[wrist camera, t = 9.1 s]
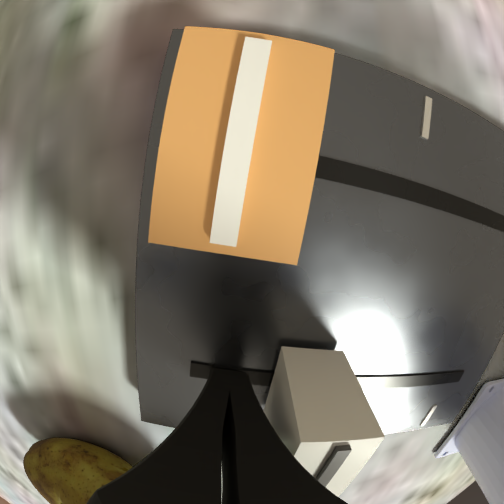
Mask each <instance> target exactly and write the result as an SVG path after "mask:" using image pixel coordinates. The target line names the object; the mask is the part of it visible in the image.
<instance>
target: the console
mask: <svg viewBox="0 0 504 504" xmlns="http://www.w3.org/2000/svg"><path fill="white" fill-rule="evenodd" d="M183 32H184V29H173V31H172V35H171V39H170V42H169V46H168V50H167V54H166V57H165V61H164V66H163V70H162V74H161V78H160V83H159V87H158V92H157V97H156V102H155V107H154V112H153V117H152V123H151V129H150V134H149V141H148V147H147V154H146V161H145V168H144V176H143V184H142V193H141V203H140V213H139V225H138V239H137V257H136V286H135V331H136V360H137V377H138V391H139V402H140V412H141V421H144V422H149V423H153V424H158V425H163V426H168V427H173V428H176V427H177V426H178V425H179V423H180V422H181V421H182V420H183V418H184V417H185V416H186V414H187V413H188V412H189V410H190V409H191V407H192V406H193V404H194V403H195V401H196V400H197V398H198V396H199V395H200V393H201V391H202V389H203V387H204V386H205V384H206V381H207V379H208V376H209V373H210V370H211V369H213V368H217V369H224V370H232V371H240V372H246V373H247V374H248V375H249V378H250V382H251V384H252V387H253V390H254V392H255V394H256V397H257V399H258V401H259V403H260V405H261V407H262V409H263V411H264V407H265V404H266V400H267V397H268V393H269V390H270V386H271V383H272V379H273V376H274V372H275V368H276V365H277V361H278V357H279V354H280V350H281V346H285V347H296V348H308V349H321V350H337V351H343V352H344V353H345V355H346V357H347V359H348V361H349V363H350V365H351V367H352V369H353V371H354V374H355V376H356V378H357V380H358V382H359V384H360V386H361V388H362V390H363V392H364V394H365V396H366V398H367V400H368V402H369V404H370V406H371V408H372V411H373V413H374V415H375V417H376V419H377V421H378V423H379V425H380V427H381V430H382V432H383V434H384V435H385V434H392V433H399V432H406V431H412V430H418V429H423V428H428V427H433V426H438V425H442V424H447V423H451V422H453V420H454V419H455V418H456V416H457V415H458V413H459V412H460V410H461V409H462V407H463V406H464V404H465V403H466V401H467V399H468V398H469V396H470V395H471V393H472V391H473V390H474V388H475V386H476V385H477V383H478V381H479V380H480V378H481V376H482V374H483V372H484V371H485V369H486V367H487V365H488V363H489V361H490V359H491V357H492V355H493V353H494V351H495V349H496V347H497V345H498V343H499V341H500V339H501V337H502V335H503V332H504V131H502V130H501V129H499V128H498V127H496V126H495V125H493V124H492V123H490V122H489V121H487V120H485V119H484V118H482V117H481V116H479V115H477V114H476V113H474V112H472V111H471V110H469V109H467V108H465V107H464V106H462V105H460V104H458V103H456V102H455V101H453V100H451V99H449V98H447V97H445V96H443V95H441V94H439V93H437V92H435V91H433V90H431V89H429V88H427V87H425V86H423V85H420V84H418V83H416V82H414V81H412V80H409V79H407V78H405V77H402V76H400V75H397V74H395V73H392V72H390V71H387V70H385V69H382V68H379V67H377V66H374V65H371V64H368V63H365V62H362V61H359V60H356V59H353V58H350V57H347V56H344V55H340V54H337V53H334V60H333V67H332V75H331V82H330V89H329V96H328V102H327V109H326V115H325V122H324V128H323V134H322V140H321V146H320V151H319V157H318V163H317V168H316V174H315V179H314V185H313V190H312V195H311V200H310V205H309V210H308V215H307V220H306V225H305V230H304V235H303V240H302V244H301V249H300V254H299V258H298V263H297V265H292V264H285V263H278V262H272V261H265V260H258V259H252V258H245V257H239V256H232V255H226V254H219V253H212V252H206V251H199V250H193V249H186V248H180V247H174V246H167V245H161V244H154V243H148V238H149V226H150V215H151V205H152V196H153V187H154V179H155V171H156V164H157V157H158V151H159V144H160V138H161V132H162V126H163V121H164V115H165V110H166V105H167V100H168V95H169V90H170V85H171V81H172V76H173V72H174V68H175V63H176V59H177V55H178V51H179V47H180V44H181V40H182V36H183Z"/></svg>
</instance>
